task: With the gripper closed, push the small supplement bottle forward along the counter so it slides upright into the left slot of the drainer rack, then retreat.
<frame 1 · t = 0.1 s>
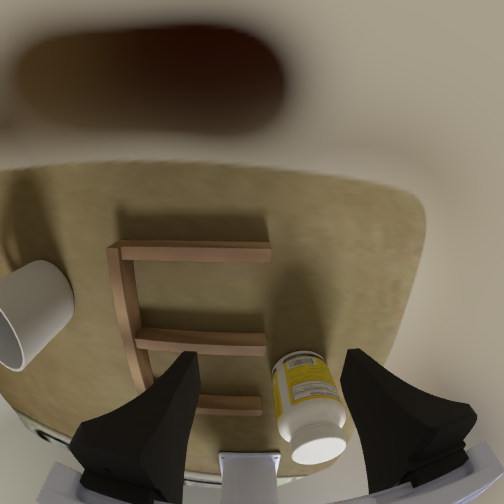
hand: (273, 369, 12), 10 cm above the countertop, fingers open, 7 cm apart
supplement bottle: (299, 369, 25), on the countertop
rack: (196, 335, 23), on the countertop
cup: (42, 290, 22), on the countertop
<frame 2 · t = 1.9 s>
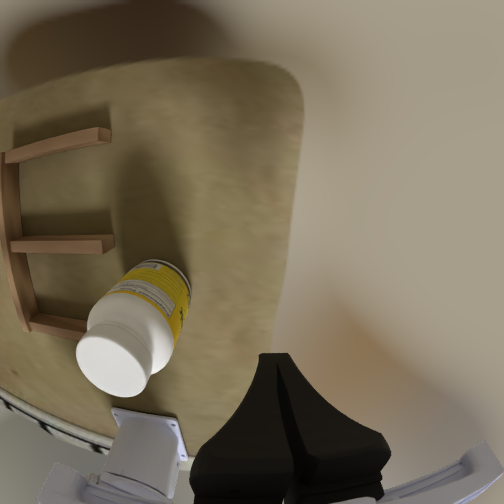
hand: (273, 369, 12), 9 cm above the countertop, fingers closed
supplement bottle: (160, 289, 21), on the countertop
rack: (58, 240, 19), on the countertop
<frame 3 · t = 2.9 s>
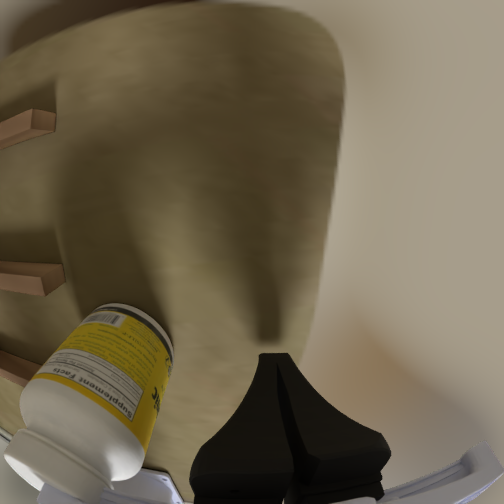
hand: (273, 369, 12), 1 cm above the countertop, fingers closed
supplement bottle: (131, 342, 14), on the countertop
rack: (3, 268, 12), on the countertop
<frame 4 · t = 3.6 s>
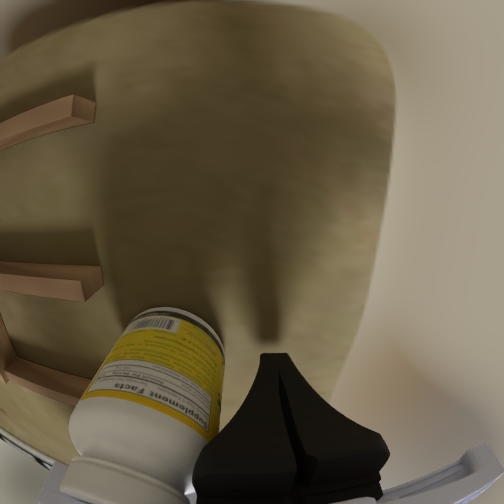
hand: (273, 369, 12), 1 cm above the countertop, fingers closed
supplement bottle: (176, 346, 14), on the countertop, touching gripper
rack: (26, 270, 12), on the countertop
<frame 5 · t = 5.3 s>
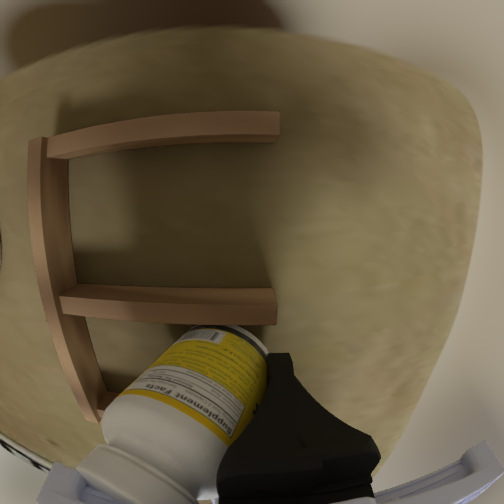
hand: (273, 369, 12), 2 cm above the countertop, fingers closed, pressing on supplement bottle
supplement bottle: (228, 360, 14), on the countertop, touching gripper
rack: (155, 295, 14), on the countertop
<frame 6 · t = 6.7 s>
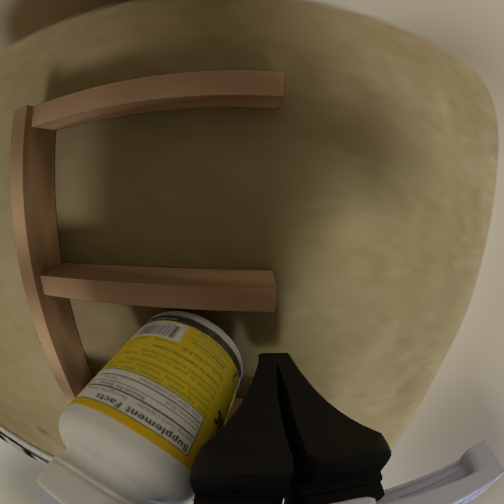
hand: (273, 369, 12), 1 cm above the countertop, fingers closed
supplement bottle: (194, 351, 13), on the countertop
rack: (143, 276, 12), on the countertop
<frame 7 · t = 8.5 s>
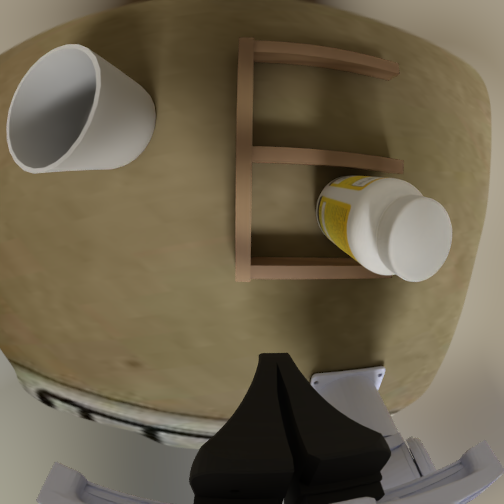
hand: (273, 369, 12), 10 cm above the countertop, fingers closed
supplement bottle: (347, 210, 20), on the countertop
rack: (320, 158, 19), on the countertop
cup: (103, 128, 18), on the countertop
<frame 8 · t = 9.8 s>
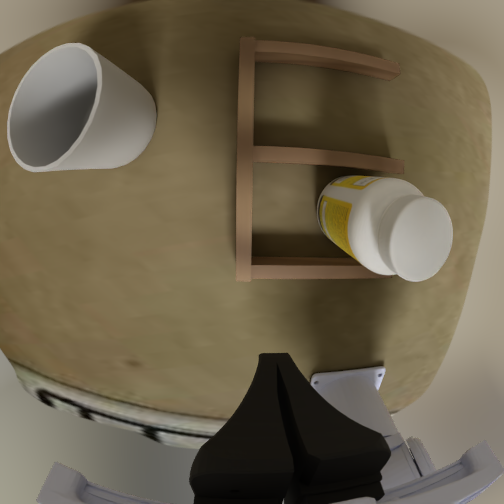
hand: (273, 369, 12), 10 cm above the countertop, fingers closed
supplement bottle: (348, 209, 20), on the countertop
rack: (321, 158, 19), on the countertop
cup: (103, 127, 18), on the countertop
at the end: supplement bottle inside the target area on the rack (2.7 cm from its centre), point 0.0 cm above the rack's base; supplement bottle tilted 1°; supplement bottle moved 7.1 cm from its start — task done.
